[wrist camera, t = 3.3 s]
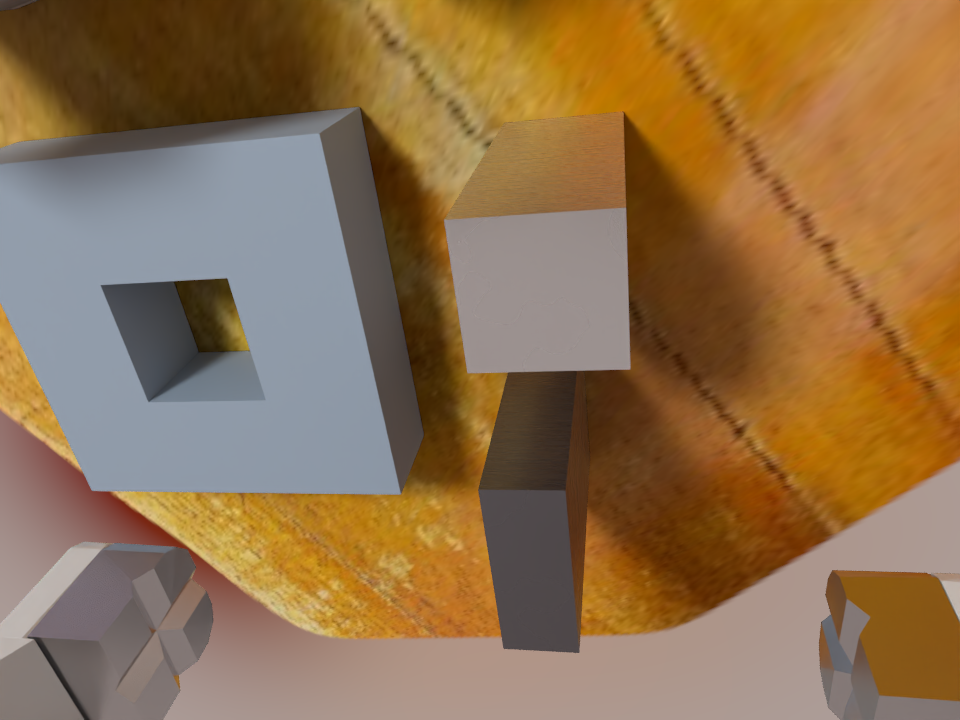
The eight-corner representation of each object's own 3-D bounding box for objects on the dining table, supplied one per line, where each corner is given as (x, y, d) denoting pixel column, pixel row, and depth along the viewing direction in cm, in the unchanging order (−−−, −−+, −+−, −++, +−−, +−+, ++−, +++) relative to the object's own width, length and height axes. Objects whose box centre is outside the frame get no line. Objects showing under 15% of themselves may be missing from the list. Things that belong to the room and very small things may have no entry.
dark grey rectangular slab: (581, 322, 28) (565, 490, 20) (590, 457, 31) (579, 652, 23) (520, 324, 29) (478, 489, 20) (534, 457, 32) (503, 648, 23)
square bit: (623, 111, 24) (626, 207, 15) (626, 227, 26) (630, 369, 17) (504, 122, 25) (444, 219, 16) (515, 234, 27) (467, 373, 18)
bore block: (359, 107, 25) (319, 133, 22) (424, 435, 32) (400, 494, 29) (18, 141, 28) (-65, 170, 25) (143, 436, 35) (92, 490, 31)
